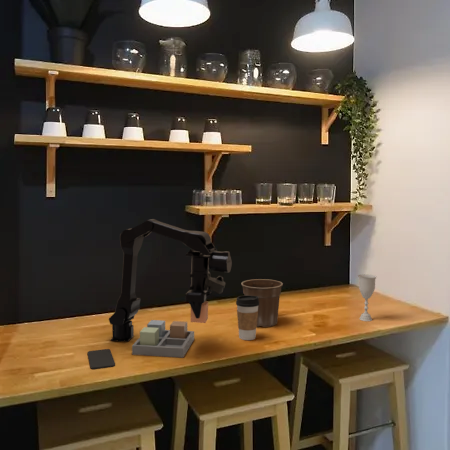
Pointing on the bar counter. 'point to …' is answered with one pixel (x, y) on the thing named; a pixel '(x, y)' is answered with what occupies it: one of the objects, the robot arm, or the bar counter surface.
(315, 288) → the bar counter surface
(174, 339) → the grid tray
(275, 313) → the plant pot
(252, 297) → the coffee cup
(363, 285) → the chalice
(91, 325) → the bar counter surface
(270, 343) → the bar counter surface
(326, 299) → the bar counter surface
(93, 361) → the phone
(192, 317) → the terracotta block
